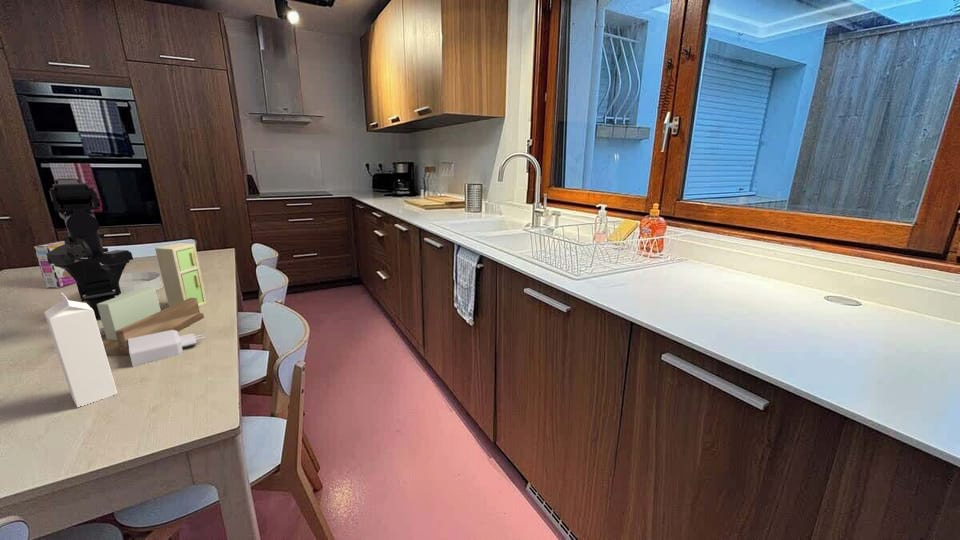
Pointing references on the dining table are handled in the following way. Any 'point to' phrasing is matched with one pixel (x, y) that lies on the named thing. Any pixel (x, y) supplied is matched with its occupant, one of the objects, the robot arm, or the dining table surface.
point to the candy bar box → (52, 267)
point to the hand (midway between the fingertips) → (99, 286)
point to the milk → (80, 351)
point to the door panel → (127, 310)
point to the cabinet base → (154, 325)
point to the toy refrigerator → (181, 273)
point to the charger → (159, 346)
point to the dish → (138, 281)
